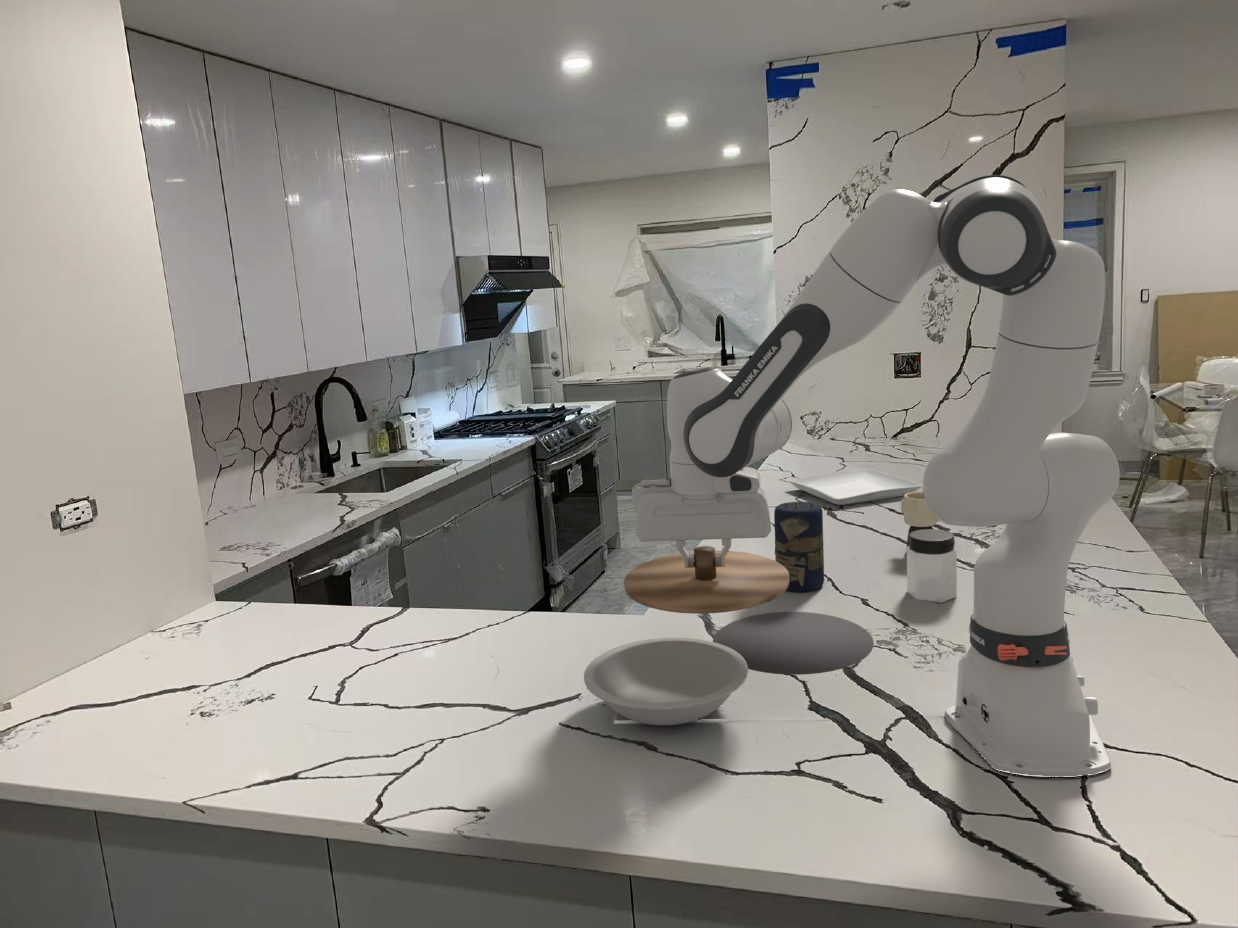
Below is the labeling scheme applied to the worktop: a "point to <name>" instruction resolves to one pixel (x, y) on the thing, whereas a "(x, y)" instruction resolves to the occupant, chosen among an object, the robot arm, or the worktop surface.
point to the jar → (932, 565)
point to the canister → (800, 544)
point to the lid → (706, 582)
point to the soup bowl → (666, 679)
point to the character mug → (917, 513)
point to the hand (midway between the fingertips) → (705, 566)
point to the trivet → (796, 642)
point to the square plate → (855, 486)
